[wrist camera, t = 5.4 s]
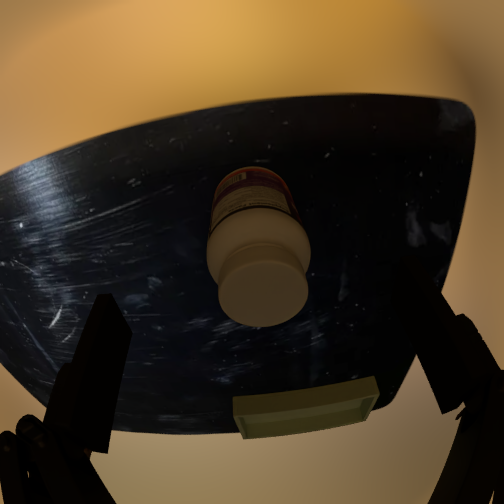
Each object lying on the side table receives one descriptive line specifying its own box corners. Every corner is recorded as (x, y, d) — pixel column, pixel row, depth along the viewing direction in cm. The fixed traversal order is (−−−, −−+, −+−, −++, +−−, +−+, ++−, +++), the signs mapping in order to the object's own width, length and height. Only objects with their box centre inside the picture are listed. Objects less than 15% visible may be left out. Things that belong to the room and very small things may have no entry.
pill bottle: (284, 235, 23) (309, 337, 15) (212, 231, 23) (202, 335, 15) (295, 167, 20) (337, 250, 12) (215, 161, 19) (201, 243, 12)
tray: (374, 375, 37) (379, 393, 34) (361, 405, 42) (365, 420, 40) (232, 396, 37) (233, 416, 35) (242, 422, 43) (243, 439, 40)
